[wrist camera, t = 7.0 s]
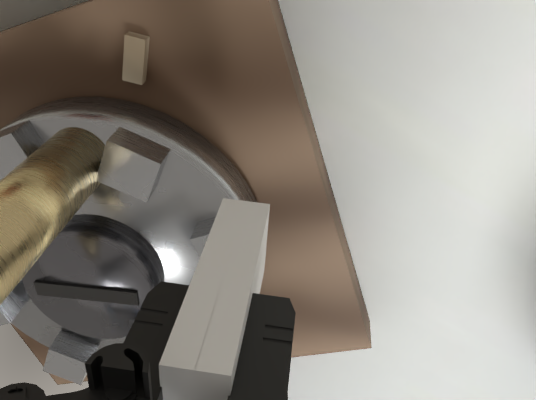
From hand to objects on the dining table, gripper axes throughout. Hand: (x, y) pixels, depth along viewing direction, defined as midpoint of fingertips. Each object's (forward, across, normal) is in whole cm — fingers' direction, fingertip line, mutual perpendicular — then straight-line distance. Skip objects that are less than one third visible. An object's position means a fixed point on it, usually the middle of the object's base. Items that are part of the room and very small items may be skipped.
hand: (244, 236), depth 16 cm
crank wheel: (+6, +7, +5) cm, 10 cm away
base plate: (+8, +7, +5) cm, 11 cm away
